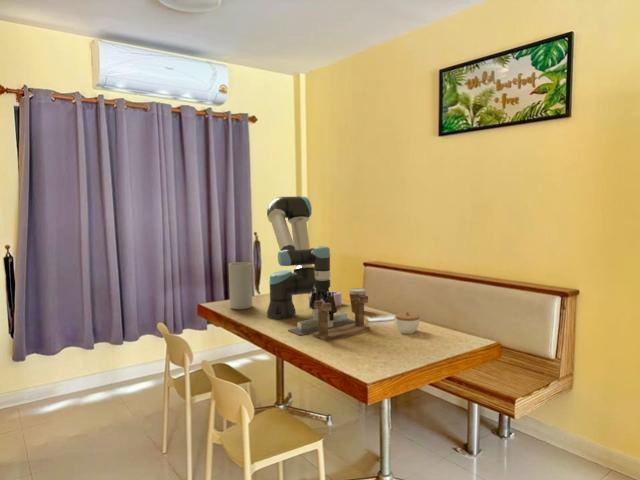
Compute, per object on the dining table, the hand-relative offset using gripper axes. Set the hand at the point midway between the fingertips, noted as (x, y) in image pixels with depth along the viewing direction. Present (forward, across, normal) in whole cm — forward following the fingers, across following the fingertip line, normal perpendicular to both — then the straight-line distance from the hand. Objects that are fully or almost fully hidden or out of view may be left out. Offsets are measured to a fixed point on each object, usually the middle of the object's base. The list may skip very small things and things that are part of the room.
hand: (322, 324), depth 219 cm
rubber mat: (+1, 0, 0) cm, 1 cm away
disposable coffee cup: (+1, -10, +32) cm, 34 cm away
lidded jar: (+1, +32, +24) cm, 40 cm away
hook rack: (+1, +14, 0) cm, 14 cm away
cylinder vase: (+1, -61, -11) cm, 62 cm away
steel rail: (0, 0, 0) cm, 1 cm away
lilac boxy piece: (+1, -31, +27) cm, 41 cm away
